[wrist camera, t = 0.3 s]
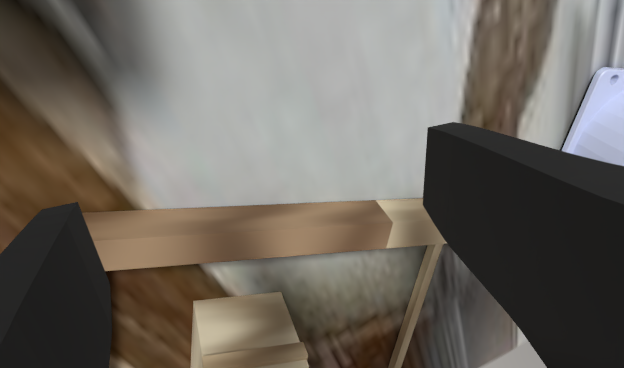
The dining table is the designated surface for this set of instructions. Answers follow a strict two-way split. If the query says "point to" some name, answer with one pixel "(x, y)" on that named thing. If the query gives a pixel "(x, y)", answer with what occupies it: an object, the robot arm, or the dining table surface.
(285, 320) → the beige cube
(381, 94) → the dining table surface
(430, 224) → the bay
